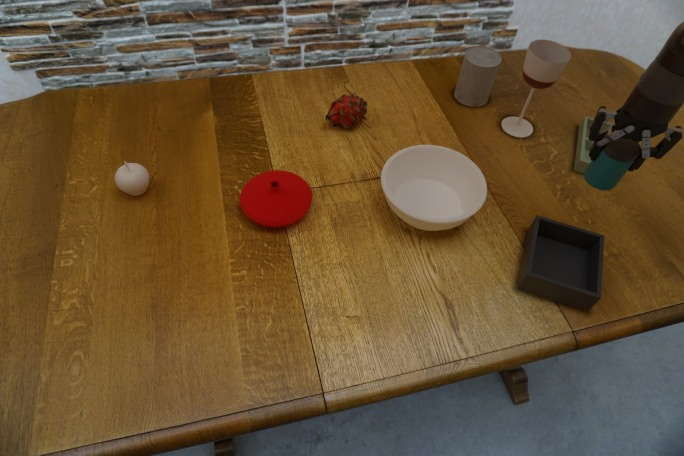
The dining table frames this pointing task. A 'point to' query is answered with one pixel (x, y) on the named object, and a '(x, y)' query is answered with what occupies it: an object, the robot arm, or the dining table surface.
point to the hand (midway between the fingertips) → (611, 162)
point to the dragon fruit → (347, 111)
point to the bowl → (433, 187)
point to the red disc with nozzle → (276, 198)
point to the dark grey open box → (562, 263)
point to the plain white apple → (132, 178)
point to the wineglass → (538, 78)
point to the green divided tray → (585, 144)
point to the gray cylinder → (477, 76)
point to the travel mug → (612, 163)
